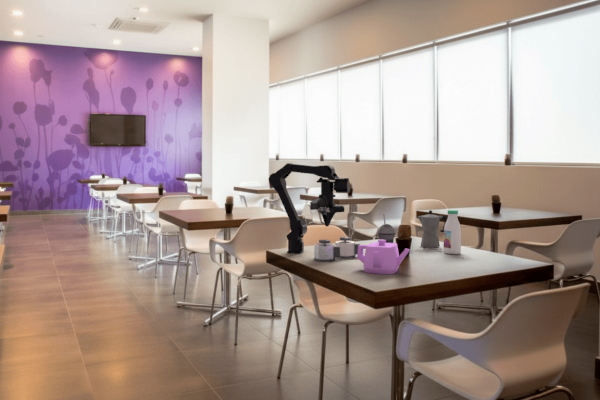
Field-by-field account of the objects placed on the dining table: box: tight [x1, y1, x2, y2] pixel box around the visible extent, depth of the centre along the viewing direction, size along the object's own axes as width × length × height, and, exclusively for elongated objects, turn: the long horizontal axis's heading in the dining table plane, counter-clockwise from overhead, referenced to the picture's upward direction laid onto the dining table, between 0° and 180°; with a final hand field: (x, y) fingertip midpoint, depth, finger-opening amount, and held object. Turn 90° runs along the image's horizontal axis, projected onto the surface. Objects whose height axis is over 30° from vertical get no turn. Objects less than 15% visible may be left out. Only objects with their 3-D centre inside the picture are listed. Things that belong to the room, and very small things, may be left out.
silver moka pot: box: [313, 243, 341, 262], centre depth 250 cm, size 12×9×6 cm
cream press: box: [334, 240, 361, 259], centre depth 257 cm, size 12×9×6 cm
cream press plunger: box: [339, 236, 352, 243], centre depth 258 cm, size 5×5×6 cm
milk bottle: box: [443, 209, 462, 255], centre depth 264 cm, size 8×8×20 cm
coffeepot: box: [416, 210, 448, 249], centre depth 283 cm, size 15×9×18 cm, turn 70°
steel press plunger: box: [318, 239, 331, 245], centre depth 250 cm, size 5×5×6 cm
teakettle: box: [356, 239, 411, 275], centre depth 226 cm, size 17×17×12 cm
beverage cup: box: [377, 213, 396, 243], centre depth 249 cm, size 7×7×20 cm
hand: (326, 226), depth 264 cm, fingers closed
